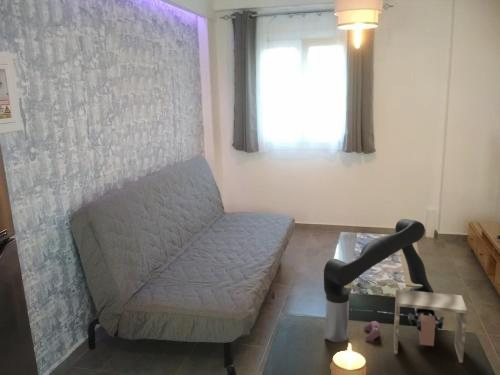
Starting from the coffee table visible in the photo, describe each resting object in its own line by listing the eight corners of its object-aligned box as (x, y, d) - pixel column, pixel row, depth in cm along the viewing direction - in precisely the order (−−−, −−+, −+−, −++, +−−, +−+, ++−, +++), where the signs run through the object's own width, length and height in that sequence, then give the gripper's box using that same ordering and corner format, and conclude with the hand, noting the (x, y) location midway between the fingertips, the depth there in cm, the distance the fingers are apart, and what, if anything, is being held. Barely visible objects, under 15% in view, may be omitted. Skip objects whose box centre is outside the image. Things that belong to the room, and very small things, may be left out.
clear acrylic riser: (394, 353, 175) (396, 303, 171) (393, 336, 188) (396, 289, 183) (462, 363, 169) (467, 310, 164) (457, 344, 181) (461, 295, 177)
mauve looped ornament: (374, 345, 184) (383, 332, 182) (364, 340, 184) (372, 327, 183) (372, 333, 194) (380, 320, 192) (362, 328, 194) (371, 315, 192)
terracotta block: (420, 344, 177) (421, 320, 175) (419, 337, 182) (420, 314, 180) (433, 346, 176) (435, 322, 174) (432, 339, 181) (434, 316, 179)
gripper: (407, 300, 192) (408, 318, 176) (443, 303, 188) (448, 323, 172) (406, 316, 194) (407, 336, 178) (442, 320, 190) (447, 341, 174)
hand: (428, 329), depth 175 cm, fingers closed on terracotta block, 5 cm apart
